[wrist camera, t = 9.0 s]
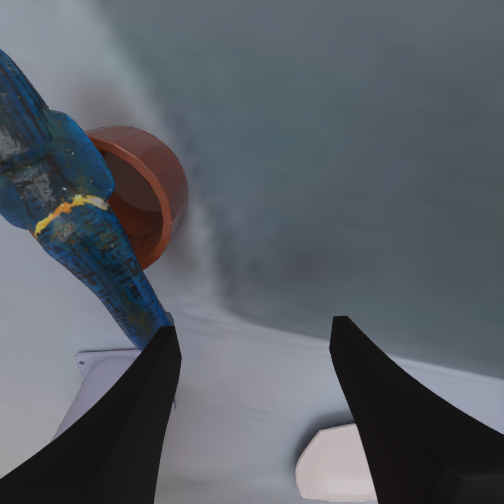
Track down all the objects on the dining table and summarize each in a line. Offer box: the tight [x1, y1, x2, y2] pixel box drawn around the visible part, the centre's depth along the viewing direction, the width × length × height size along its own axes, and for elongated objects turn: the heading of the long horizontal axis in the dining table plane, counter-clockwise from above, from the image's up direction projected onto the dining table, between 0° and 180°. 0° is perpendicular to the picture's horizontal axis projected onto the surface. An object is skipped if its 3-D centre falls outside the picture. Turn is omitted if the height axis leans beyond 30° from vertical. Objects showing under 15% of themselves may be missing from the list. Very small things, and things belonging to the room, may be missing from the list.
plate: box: [295, 423, 377, 502], centre depth 37 cm, size 19×19×2 cm
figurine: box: [0, 49, 174, 351], centre depth 14 cm, size 5×4×15 cm
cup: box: [29, 126, 188, 270], centre depth 17 cm, size 8×8×6 cm
